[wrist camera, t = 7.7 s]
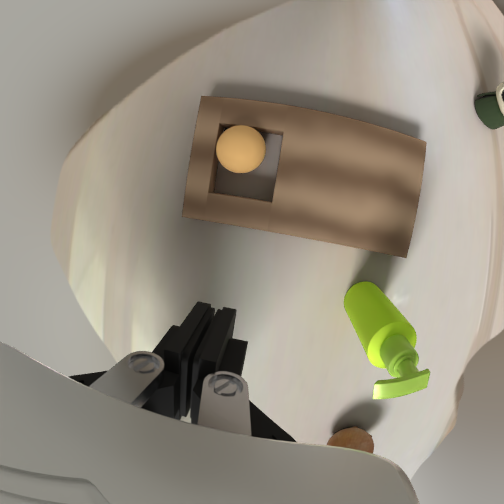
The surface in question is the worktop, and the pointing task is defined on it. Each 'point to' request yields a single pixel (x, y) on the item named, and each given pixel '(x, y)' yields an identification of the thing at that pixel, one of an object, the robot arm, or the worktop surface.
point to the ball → (240, 149)
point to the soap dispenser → (385, 340)
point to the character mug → (491, 108)
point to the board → (313, 176)
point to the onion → (352, 439)
